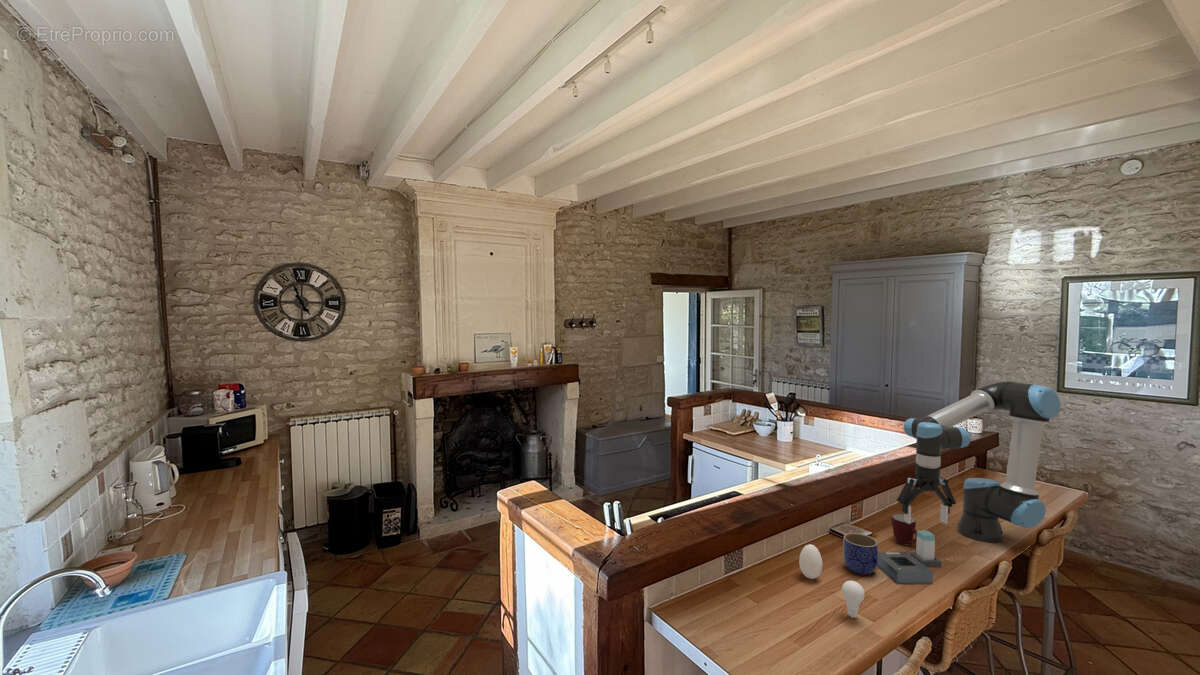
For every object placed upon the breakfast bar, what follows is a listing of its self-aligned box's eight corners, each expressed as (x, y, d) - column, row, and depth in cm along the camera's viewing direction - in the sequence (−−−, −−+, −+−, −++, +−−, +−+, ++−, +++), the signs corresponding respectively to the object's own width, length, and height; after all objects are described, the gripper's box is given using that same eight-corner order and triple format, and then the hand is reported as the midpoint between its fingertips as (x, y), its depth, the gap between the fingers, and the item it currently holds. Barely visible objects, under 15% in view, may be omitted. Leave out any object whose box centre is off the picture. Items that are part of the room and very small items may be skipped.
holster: (927, 557, 183) (928, 552, 183) (941, 566, 176) (941, 561, 176) (909, 557, 183) (909, 552, 183) (921, 567, 176) (922, 561, 176)
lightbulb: (837, 611, 150) (837, 577, 149) (855, 610, 150) (856, 576, 150) (848, 624, 144) (849, 588, 143) (868, 623, 144) (869, 587, 144)
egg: (796, 579, 168) (797, 546, 167) (801, 570, 174) (802, 538, 173) (819, 586, 164) (820, 552, 163) (823, 576, 170) (824, 543, 169)
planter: (873, 565, 177) (874, 535, 177) (880, 580, 167) (881, 548, 167) (840, 560, 181) (841, 530, 180) (845, 575, 171) (845, 544, 170)
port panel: (906, 562, 179) (906, 550, 179) (932, 583, 165) (932, 570, 165) (873, 562, 179) (874, 551, 179) (897, 583, 165) (897, 571, 165)
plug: (926, 559, 181) (927, 530, 181) (934, 564, 177) (934, 535, 177) (916, 559, 181) (916, 530, 181) (923, 565, 177) (924, 535, 177)
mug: (926, 547, 190) (926, 522, 190) (912, 552, 187) (913, 526, 186) (899, 536, 200) (900, 512, 199) (886, 540, 196) (887, 516, 196)
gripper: (953, 462, 181) (951, 518, 182) (887, 462, 181) (885, 517, 182) (969, 468, 174) (966, 526, 175) (900, 468, 174) (898, 526, 175)
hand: (925, 522), depth 179 cm, fingers open, 13 cm apart
